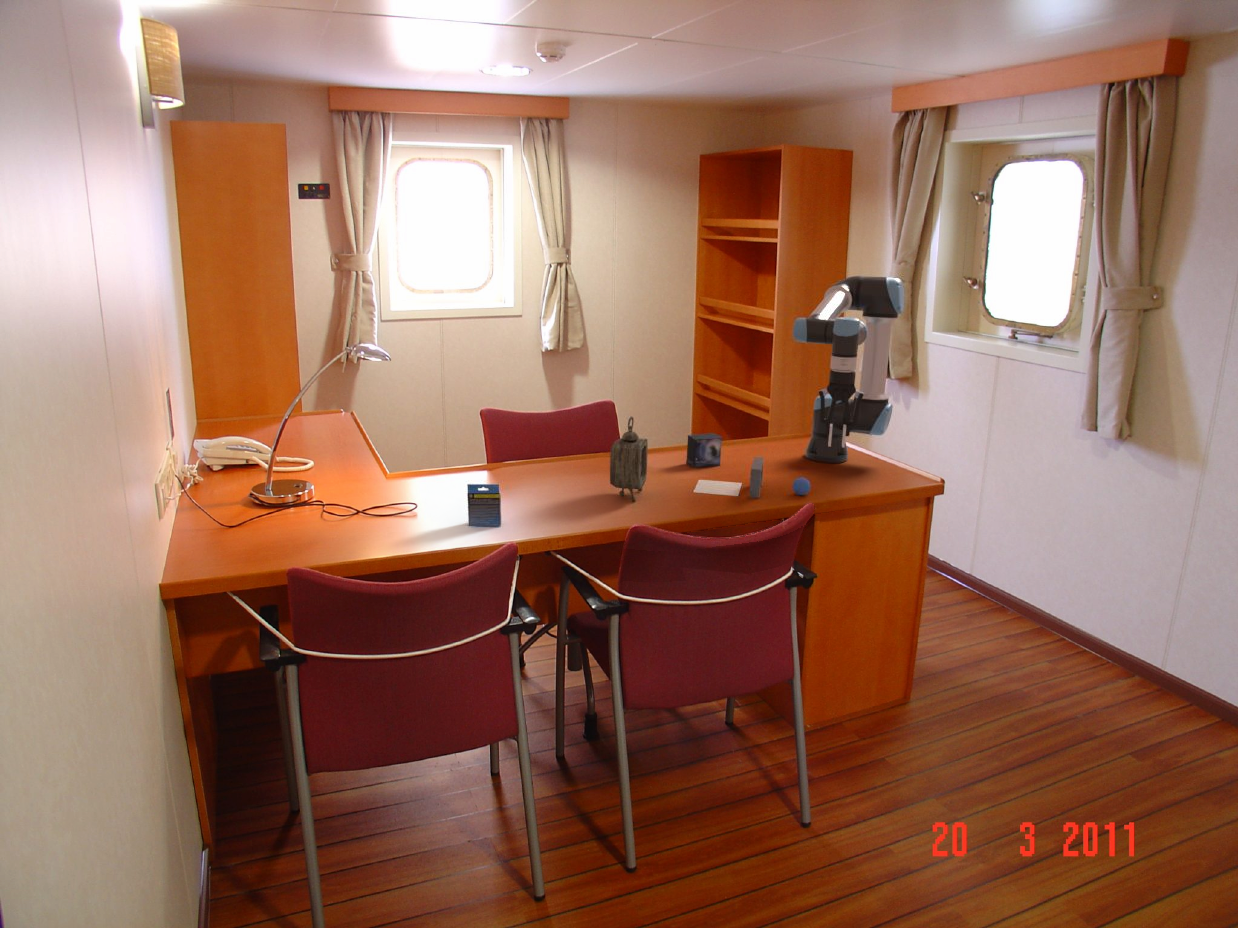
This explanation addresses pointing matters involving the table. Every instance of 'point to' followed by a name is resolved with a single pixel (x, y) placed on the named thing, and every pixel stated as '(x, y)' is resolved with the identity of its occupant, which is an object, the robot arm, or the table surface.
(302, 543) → the table surface
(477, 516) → the label tape cartridge
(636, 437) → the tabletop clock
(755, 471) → the bridge
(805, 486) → the ball
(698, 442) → the small box
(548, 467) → the table surface
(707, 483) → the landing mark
